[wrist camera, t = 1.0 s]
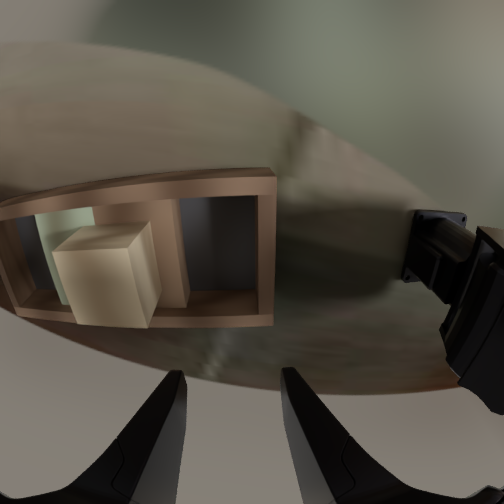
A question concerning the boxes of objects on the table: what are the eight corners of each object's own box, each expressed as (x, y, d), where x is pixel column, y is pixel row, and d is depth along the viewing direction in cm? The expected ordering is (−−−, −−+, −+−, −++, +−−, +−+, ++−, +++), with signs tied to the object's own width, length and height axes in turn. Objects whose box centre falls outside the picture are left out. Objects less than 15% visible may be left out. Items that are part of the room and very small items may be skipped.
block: (149, 220, 16) (127, 248, 12) (162, 290, 18) (147, 328, 15) (83, 226, 16) (51, 251, 12) (100, 290, 18) (77, 323, 14)
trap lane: (269, 167, 17) (276, 176, 14) (268, 296, 22) (273, 325, 19) (6, 199, 17) (-18, 212, 13) (35, 295, 21) (17, 315, 18)
